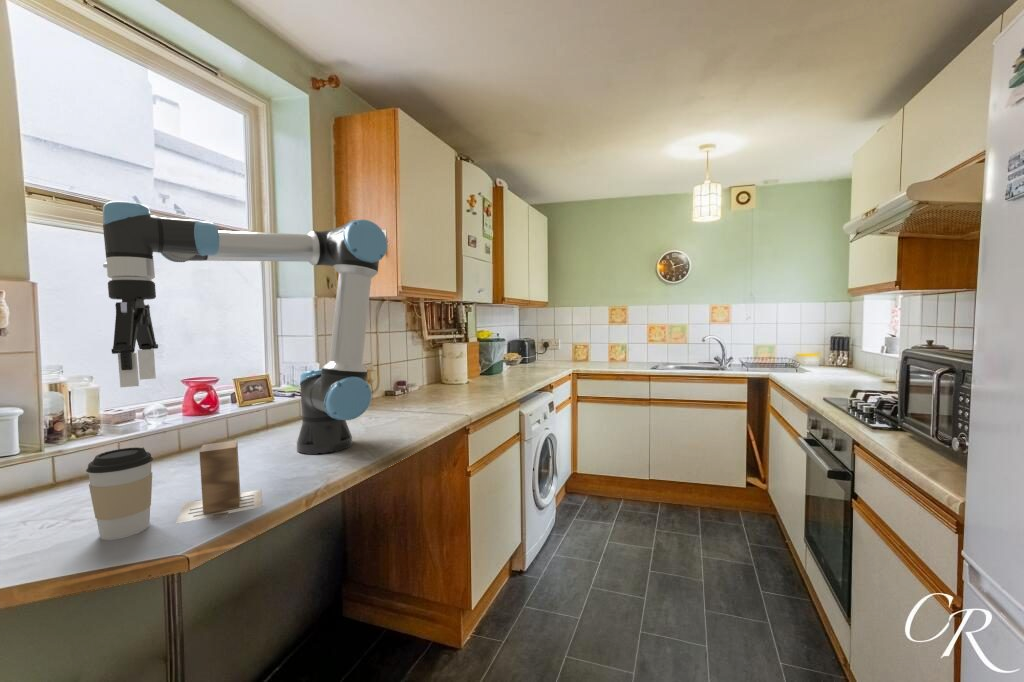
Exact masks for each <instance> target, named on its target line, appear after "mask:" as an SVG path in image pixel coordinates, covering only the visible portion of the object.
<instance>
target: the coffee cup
mask: <svg viewBox="0 0 1024 682" xmlns="http://www.w3.org/2000/svg"><path fill="white" fill-rule="evenodd" d="M153 461H154V458H153V457H152V454H151V453H150V452H149V451H147V450H146V449H145V448H144V447H137V446H136V447H125V448H119V449H113V450H108V451H105V452H101V453H99V454H97V455H95V457H94V458H93V459H92V461H91V462H89V463H88V464H87V469H86V470H85V471H86V472H87V473H88V478H89V479H88V480H89V484H88V486H89V487H88V488H89V493H90V497H91V504H92V507H93V514H94V518H95V519H96V525H97V527H98V534H99V538H100V539H101V540H103V541H105V540H106V541H112V540H114V541H115V540H119V539H125V538H127V537H132V536H134V535H136V534H139V533H142V532H143V531H145V530H147V529H148V528H149V527H150V525H151V521H150V519H151V505H152V490H153V471H152V462H153Z"/></svg>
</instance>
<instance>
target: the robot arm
mask: <svg viewBox="0 0 1024 682" xmlns="http://www.w3.org/2000/svg"><path fill="white" fill-rule="evenodd" d="M102 230H103V239H104V241H103V242H104V250H105V258H106V259H105V261H106V262H105V263H103V265H102V266H103V268H105V269H106V273H107V277H108V278H110V279H111V280H108V282H107V289H108V298H109V299H111V300H117V301H118V300H121V301H119V302H115V321H114V322H115V323H114V333H113V334H114V335H113V345H112V348H111V354H112V355H116V354H117V362H118V372H119V373H118V374H119V387H120V388H129V387H132V388H133V387H139V386H140V382H139V381H140V380H141V381H142V380H154V379H156V378H157V377H156V376H157V375H156V374H157V373H156V361H155V349H156V350H157V349H159V344H158V343H157V341H156V337H155V332H154V327H153V321H152V317H151V316H152V315H151V311H150V308H151V307H150V304H145V300H154V299H156V298H157V293H156V292H157V291H156V283H155V282H154V281H153V280H154V279H155V278H156V273H155V261H154V255H153V254H154V253H158V254H159V253H160V254H161V256H163V257H164V259H166V260H168V261H170V262H174V263H185V262H189V261H191V262H193V261H194V262H195V261H196V262H197V261H199V262H201V261H202V262H203V261H208V262H209V261H210V262H211V261H214V262H216V261H219V262H220V261H221V262H223V261H224V262H225V261H226V262H301V263H302V262H304V263H305V262H306V263H307V262H308V263H310V265H312V266H325V267H327V266H329V267H333V269H334V270H335V271H336V272H337V274H338V278H337V286H336V296H335V305H334V313H333V320H332V321H333V323H332V330H331V331H332V332H331V338H330V339H331V341H330V350H329V357H328V361H327V363H325V365H323V366H322V367H321V368H320V369H315V370H305V371H303V372H301V373H300V380H299V386H300V398H301V399H300V403H301V419H302V422H301V427H300V430H299V434H298V437H297V440H296V451H297V452H298V453H300V452H301V453H300V454H304V453H306V454H307V455H318V453H322V454H328V453H327V452H330V453H334V452H333V451H335V452H338V451H337V450H339V451H342V450H341V449H343V450H345V449H344V448H346V447H348V446H350V445H351V446H352V445H353V436H352V433H351V431H350V428H349V426H348V423H347V421H351V420H355V419H358V418H359V417H360V416H362V415H363V414H364V413H365V412H366V411H367V410H368V408H369V407H370V404H371V401H372V390H371V387H370V386H369V383H367V376H368V369H367V368H366V367H365V366H364V364H363V360H364V359H363V357H364V350H365V349H364V348H365V341H366V332H367V322H368V313H369V305H370V304H369V303H370V293H371V286H372V285H371V284H372V280H373V278H374V277H375V276H376V275H378V272H379V264H380V260H382V259H383V258H384V257H385V255H386V254H387V251H388V241H387V235H385V232H384V231H383V230H382V228H381V227H380V226H379V225H378V224H376V223H375V222H373V221H371V220H368V219H357V220H351V221H349V222H348V223H346V224H344V225H341V226H338V227H335V228H332V229H328V230H327V229H326V230H320V231H316V230H310V231H309V232H308V233H307V234H304V233H300V234H299V233H282V232H281V233H278V232H277V233H276V232H260V231H259V232H258V231H257V232H256V231H234V230H233V231H232V230H219V228H218V226H217V224H215V223H214V222H212V221H211V222H210V221H203V220H201V219H197V220H196V219H184V218H183V219H182V218H174V217H162V216H157V215H152V213H151V211H150V208H149V207H148V206H147V205H145V204H142V203H137V202H134V201H133V202H131V201H124V200H123V201H122V200H117V201H115V200H114V201H108V202H106V203H105V204H104V205H103V207H102ZM136 343H137V345H138V348H139V349H137V352H135V351H136ZM351 446H350V447H351ZM348 448H349V447H348ZM346 449H347V448H346ZM306 454H305V455H306Z"/></svg>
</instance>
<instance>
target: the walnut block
mask: <svg viewBox="0 0 1024 682" xmlns="http://www.w3.org/2000/svg"><path fill="white" fill-rule="evenodd" d="M199 465H200V468H199V469H200V482H201V484H200V485H201V497H202V498H201V500H202V502H203V513H209V512H214V511H219V510H224V509H230V508H235V507H239V505H240V493H241V483H240V466H239V447H238V440H230V441H224V442H223V441H222V442H216V443H207V444H202V446H201V448H200V451H199Z"/></svg>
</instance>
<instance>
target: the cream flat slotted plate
mask: <svg viewBox="0 0 1024 682" xmlns="http://www.w3.org/2000/svg"><path fill="white" fill-rule="evenodd" d="M262 507H263V489H262V488H261V489H256V490H251V491H245V492H244V491H243V492H240V505H239V507H235V508H230V509H224V510H219V511H214V512H209V513H203V502H202V499H200V500H194V501H189V502H184V503H183V505H182V507H181V510H180V512H179V515H178V517H177V520H176V522H175V524H180V523H181V524H182V523H186V522H191V521H197V520H201V519H205V518H206V519H208V518H211V517H212V519H211V520H212V521H213V522H214V521H219V520H224V519H227V518H228V514H233V513H237V512H243V511H248V510H253V509H258V508H262Z"/></svg>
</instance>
